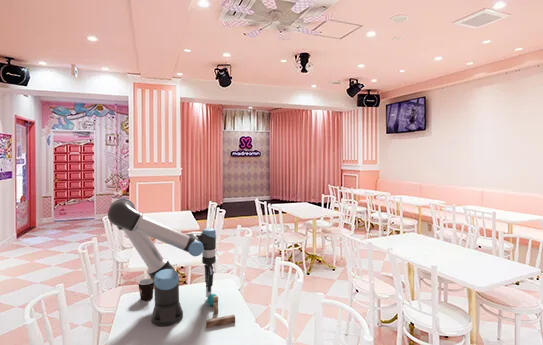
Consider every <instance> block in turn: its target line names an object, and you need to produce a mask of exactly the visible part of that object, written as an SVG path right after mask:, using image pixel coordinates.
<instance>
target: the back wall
mask: <svg viewBox="0 0 543 345" xmlns="http://www.w3.org/2000/svg"><path fill="white" fill-rule="evenodd" d="M235 323H236V315H235V314H231V315H225V316H220V317H214V318H209V319H205V327H206V329H210V328H214V327H219V326H224V325H225V326H226V325H229V324H235Z"/></svg>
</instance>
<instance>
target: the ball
mask: <svg viewBox="0 0 543 345" xmlns="http://www.w3.org/2000/svg"><path fill="white" fill-rule="evenodd" d="M214 296H218V295H217V294H215V293H211V295H209V296H208V297H206V302H207V304H208V305H209V306H212V307H214V304H213V297H214Z"/></svg>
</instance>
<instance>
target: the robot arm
mask: <svg viewBox="0 0 543 345" xmlns="http://www.w3.org/2000/svg"><path fill="white" fill-rule="evenodd" d="M107 218H108V220H109V222H110V223H111V224H112V225H114V226H116V228H117V229H118V230H119V231H123V232H124V233H125V235H126V237H127V238H128V239H129V241H130V242H131V244H132V245H133V247H134V248H135V250H136V251H137V254H138V255H139V256H140V258H141V260H143V262H144V264H145V266H146V267H147V268H148V269H147V271H146V272H147V274H148V275H149V277H150V279H152V280H153V282H154V289H153V292H154V307H153V311H152V313H151V323H152V325H154V326H157V327H168V326H172V325H175V324H177V323H179V322H180V321H182V319H183V318H184V311H183V309H182V306H181V303H180V286H179V283H180V282H179V281H180V275H179V273H178V271H177V270H176V269H175V267H174V266H173V265H172V264H171V262H169V260H168V259H167V258H164V257H163V256H162V254H161V253H160V251H159V250H158V248H157V247H156V245H155V244H154V242H153V241H152V239H155V240H158V241H160V242H163V243H165V244H166V245H169V246H172V247H175V248H177V249H180V250H182V251H184V252H187V253H188V254H190V255H191V256H192V257H199V256H200V255H201V256H202V257H201V262H202V264H204V267H203V268H204V281H205V282H204V283H205V297H206V298H208V296H209V295H211V294H212V286H213V283H214V282H213V281H214V273H215V271H214V266H213V265H214V264H215V263H217V262H216V260H217V259H216V257H217V256H216V255H217V254H216V253H217V251H218V250H217V249H216V248H217V247H216V245H217V243H216V242H217V234H216V232H217V231H216V229H215V228H212V227H207V228H206V227H205V228H203V229H202V230H201V232H198V233H183V232H181V231H178V230H176V229H174V228H171V227H169V226H166V225H164V224H162V223H160V222H157V221H156V220H153V219H151V218H148V217H146V216H143V213H142V212H140V211H138V210H137V209H136V207H135V204H134V203H133V202H132V201H131V200H129V199H127V198H119V199H117V200H115V201H113V202H112V203H111V204H110V206H109V209H108V210H107ZM151 238H152V239H151Z"/></svg>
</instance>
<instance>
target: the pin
mask: <svg viewBox="0 0 543 345" xmlns="http://www.w3.org/2000/svg"><path fill="white" fill-rule="evenodd" d="M213 304H214V305H213V314H215V315H216V314H219V296H218V295H217V296H214V297H213Z"/></svg>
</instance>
